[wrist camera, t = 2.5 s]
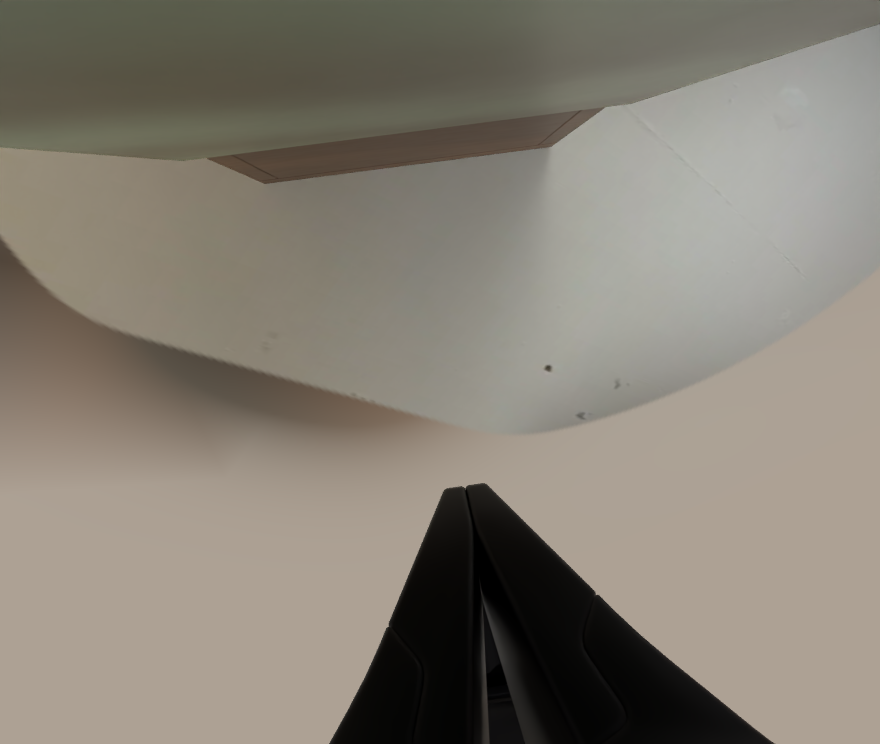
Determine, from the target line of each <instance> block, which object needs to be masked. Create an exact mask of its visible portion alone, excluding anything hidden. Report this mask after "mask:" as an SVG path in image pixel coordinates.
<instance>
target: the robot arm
mask: <svg viewBox="0 0 880 744" xmlns="http://www.w3.org/2000/svg"><path fill="white" fill-rule="evenodd" d="M329 744H774V743H773V742H771V741H770V740H769V739H767V738H766V737H765V736H763V735H762V734H761V733H760V732H758V731H757V730H755V729H754V728H753V727H752V726H751V725H749V724H748V723H747V722H746V721H744V720H743V719H742V718H741V717H739V716H738V715H737V714H736V713H735V712H733V711H732V710H731V709H730V708H728V707H727V706H726V705H725V704H724V703H722V702H721V701H720V700H719V699H717V698H716V697H715V696H714V695H712V694H711V693H710V692H709V691H708V690H706V689H705V688H704V687H703V686H701V685H700V684H699V683H698V682H696V681H695V680H694V679H693V678H691V677H690V676H689V675H688V674H687V673H685V672H684V671H683V670H682V669H680V668H679V667H678V666H677V665H675V664H674V663H673V662H672V661H670V660H669V659H668V658H667V657H666V656H665V655H663V654H662V653H661V652H660V651H659V650H657V649H656V648H655V647H654V646H652V645H651V644H650V643H649V642H648V641H647V640H646V639H644V638H643V637H642V636H641V635H640V634H639V633H638V632H636V631H635V630H634V629H633V628H632V627H631V626H630V625H629V624H628V623H627V622H626V621H625V620H624V619H623V618H621V616H619V615H618V614H617V613H616V612H615V611H614V610H613V609H612V608H611V607H610V606H609V605H608V604H607V603H606V602H605V601H604V600H603V599H602V598H601V597H600V596H599V595H596V593H595V591H594V590H593V589H592V588H591V587H590V586H589V585H588V584H587V583H586V582H585V581H584V580H583V579H582V578H580V576H579V575H578V574H577V573H576V572H575V571H574V570H573V569H571V567H570V566H569V565H568V564H567V563H566V562H565V561H564V560H562V559H561V557H559V555H557V554H556V552H555V551H553V550H552V549H551V548H550V547H549V546H548V545H547V544H546V543H545V542H544V541H543V540H542V539H541V538H540V537H539V536H538V535H537V534H536V533H535V532H534V531H533V530H532V529H531V528H530V527H529V526H528V525H527V524H526V523H525V522H524V521H523V520H522V519H521V518H520V517H519V516H518V515H517V514H516V513H515V512H514V511H513V510H512V509H511V508H510V507H509V506H508V505H507V504H506V503H505V502H504V501H503V500H502V499H501V498H500V497H499V496H498V495H497V494H496V493H495V492H494V491H493V490H492V489H491V488H490V487H489V486H488V485H487V484H485V483H481V484H474V485H468V486H467V487H466V490H465V488H464V487H462V486H460V487H453V488H447V489H445V490H444V492H443V494H442V496H441V499H440V501H439V504H438V506H437V508H436V511H435V513H434V515H433V518H432V520H431V523H430V525H429V528H428V530H427V533H426V535H425V537H424V540H423V542H422V544H421V547H420V549H419V552H418V554H417V556H416V559H415V561H414V564H413V566H412V568H411V571H410V573H409V576H408V578H407V580H406V583H405V586H404V588H403V590H402V593H401V595H400V597H399V600H398V602H397V605H396V607H395V610H394V612H393V614H392V617H391V619H390V621H389V627H387V628H386V631H385V633H384V635H383V638H382V640H381V643H380V645H379V648H378V650H377V652H376V654H375V656H374V659H373V661H372V663H371V665H370V667H369V670H368V672H367V674H366V676H365V678H364V680H363V682H362V684H361V686H360V688H359V690H358V692H357V694H356V696H355V697H354V699H353V701H352V703H351V705H350V707H349V709H348V711H347V713H346V714H345V716H344V718H343V720H342V722H341V724H340V725H339V727H338V729H337V731H336V732H335V734H334V736H333V738H332V740H331V741H330V743H329Z"/></svg>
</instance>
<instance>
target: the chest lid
mask: <svg viewBox="0 0 880 744" xmlns="http://www.w3.org/2000/svg"><path fill="white" fill-rule="evenodd" d="M878 24H880V0H0V147H3V148H16V149H29V150H43V151H56V152H70V153H83V154H96V155H110V156H123V157H137V158H150V159H163V160H177V161H186V160H194V159H202V158H210V157H218V156H226V155H233V154H241V153H249V152H257V151H265V150H273V149H280V148H288V147H296V146H304V145H312V144H320V143H327V142H335V141H343V140H351V139H359V138H367V137H374V136H382V135H390V134H398V133H406V132H414V131H421V130H429V129H437V128H445V127H453V126H461V125H468V124H476V123H484V122H492V121H500V120H508V119H516V118H523V117H531V116H539V115H547V114H555V113H563V112H570V111H578V110H586V109H594V108H602V107H610V106H617V105H625V104H632V103H635V102H638V101H641V100H644V99H647V98H650V97H653V96H657V95H660V94H663V93H666V92H669V91H672V90H675V89H678V88H681V87H685V86H688V85H691V84H694V83H697V82H700V81H703V80H706V79H709V78H713V77H716V76H719V75H722V74H725V73H728V72H731V71H734V70H737V69H741V68H744V67H747V66H750V65H753V64H756V63H759V62H762V61H766V60H769V59H772V58H775V57H778V56H781V55H784V54H787V53H790V52H794V51H797V50H800V49H803V48H806V47H809V46H812V45H815V44H818V43H822V42H825V41H828V40H831V39H834V38H837V37H840V36H843V35H846V34H850V33H853V32H856V31H859V30H862V29H865V28H868V27H871V26H875V25H878Z"/></svg>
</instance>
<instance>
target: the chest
mask: <svg viewBox="0 0 880 744" xmlns="http://www.w3.org/2000/svg"><path fill="white" fill-rule="evenodd" d="M604 108H605V107H602V108H594V109H586V110H578V111H570V112H563V113H555V114H547V115H539V116H531V117H523V118H516V119H508V120H500V121H492V122H484V123H476V124H468V125H461V126H453V127H445V128H437V129H429V130H421V131H414V132H406V133H398V134H390V135H382V136H374V137H367V138H359V139H351V140H343V141H335V142H327V143H320V144H312V145H304V146H296V147H288V148H280V149H273V150H265V151H257V152H249V153H241V154H233V155H226V156H218V157H210V158H207V159H209V160H212V161H214V162H216V163H218V164H221V165H223V166H225V167H228V168H230V169H232V170H235V171H237V172H239V173H241V174H244V175H246V176H248V177H251V178H253V179H255V180H257V181H260V182H262V183H264V184H267V183H275V182H282V181H290V180H298V179H306V178H313V177H321V176H329V175H337V174H344V173H352V172H360V171H368V170H375V169H383V168H391V167H398V166H406V165H414V164H422V163H429V162H437V161H445V160H453V159H460V158H468V157H476V156H484V155H491V154H499V153H507V152H514V151H522V150H530V149H538V148H545V147H551V146H553V145H554V144H555V143H557V142H558V141H560V140H561V139H562V138H564V137H565V136H567V135H568V134H569V133H571V132H572V131H573V130H575V129H576V128H578V127H579V126H580V125H582V124H583V123H584V122H586V121H587V120H589V119H590V118H591V117H593V116H594V115H595V114H597V113H598V112H600V111H601V110H602V109H604Z"/></svg>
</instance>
